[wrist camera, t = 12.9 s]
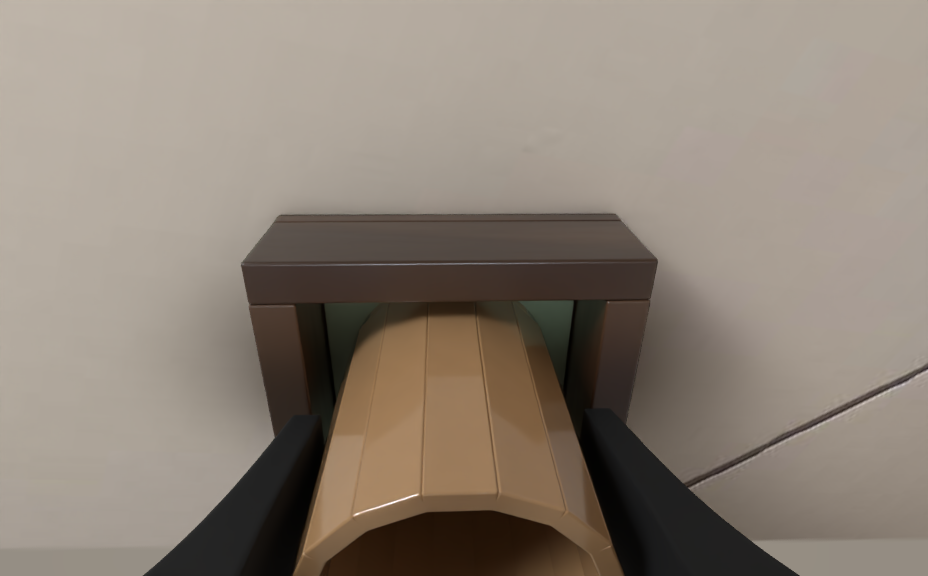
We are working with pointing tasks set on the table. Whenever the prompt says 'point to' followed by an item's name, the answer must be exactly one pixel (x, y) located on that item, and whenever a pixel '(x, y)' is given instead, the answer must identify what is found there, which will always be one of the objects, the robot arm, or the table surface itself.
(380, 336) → the paper cup
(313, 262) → the cup holder
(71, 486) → the table surface
